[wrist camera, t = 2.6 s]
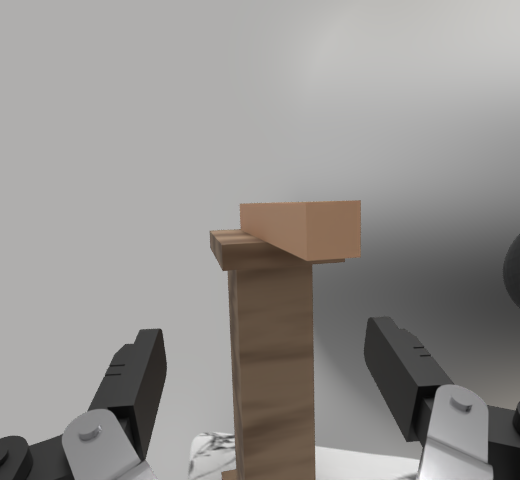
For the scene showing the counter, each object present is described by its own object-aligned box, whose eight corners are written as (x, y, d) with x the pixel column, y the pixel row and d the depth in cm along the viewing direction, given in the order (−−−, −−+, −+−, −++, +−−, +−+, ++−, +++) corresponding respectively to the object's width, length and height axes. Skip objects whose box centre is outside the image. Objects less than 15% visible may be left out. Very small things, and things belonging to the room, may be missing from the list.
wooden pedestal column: (346, 583, 31) (344, 237, 27) (238, 614, 29) (221, 244, 25) (297, 467, 44) (292, 226, 41) (221, 482, 42) (209, 230, 39)
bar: (360, 257, 18) (360, 200, 17) (306, 261, 17) (306, 202, 17) (266, 228, 39) (265, 202, 39) (240, 229, 39) (239, 203, 38)
